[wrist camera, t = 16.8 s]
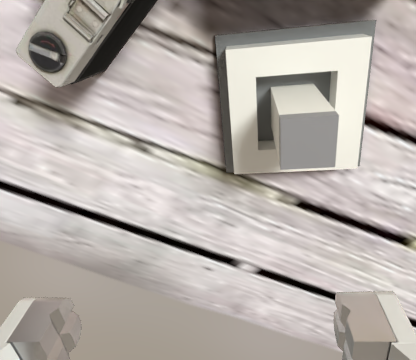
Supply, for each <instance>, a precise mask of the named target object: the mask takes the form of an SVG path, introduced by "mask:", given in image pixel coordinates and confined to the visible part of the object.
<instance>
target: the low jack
mask: <svg viewBox="0 0 416 360" xmlns="http://www.w3.org/2000/svg"><path fill="white" fill-rule="evenodd" d="M375 26H376V20H365V21H355V22H345V23H335V24H324V25H314V26H304V27H293V28H283V29H273V30H262V31H252V32H242V33H232V34H221V35H215V41H216V54H217V66H218V78H219V90H220V103H221V115H222V127H223V139H224V152H225V164H226V173H228V172H234V174H252V173H273V172H295V171H316V170H338V169H357V167H358V166H360V157H361V148H362V139H363V131H364V122H365V113H366V104H367V96H368V87H369V78H370V69H371V61H372V52H373V43H374V34H375ZM301 84H314V85H315V86H316V87H317V89H318V90H319V91H320V92H321V94H322V95H323V96H324V97H325V98H326V100H327V101H328V102H329V103H330V105H331V106H332V107H333V108H334V110H335V111H336V112H337V113H338V115H339V123H338V136H337V149H336V162H335V167H329V168H308V169H288V170H281V169H280V165H279V160H278V155H277V151H276V146H275V142H274V137H273V132H272V128H271V87H276V86H288V85H301Z"/></svg>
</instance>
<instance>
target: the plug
mask: <svg viewBox="0 0 416 360" xmlns="http://www.w3.org/2000/svg"><path fill="white" fill-rule="evenodd" d="M338 123H339V115H338V113H337V112H336V111H335V110H334V108H333V107H332V106H331V105H330V103H329V102H328V101H327V100H326V98H325V97H324V96H323V95H322V94H321V92H320V91H319V90H318V89H317V87H316V86H315V85H314V84H301V85H288V86H276V87H271V128H272V132H273V137H274V142H275V146H276V151H277V155H278V160H279V165H280V169H281V170H288V169H308V168H329V167H335V162H336V149H337V136H338Z"/></svg>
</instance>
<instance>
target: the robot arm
mask: <svg viewBox="0 0 416 360" xmlns="http://www.w3.org/2000/svg"><path fill="white" fill-rule="evenodd" d="M335 304H336V307H337V310H336V311H335V312H334V331H335V336H336V341H337V345H338V347H339V348H340V349H341V350H342V351H343V356H342V360H416V333H415V331H414V329H413V327H412V325H411V323H410V321H409V319H408V317H407V316H406V314H405V312H404V310H403V308H402V306H401V304H400V302H399V300H398V298H397V296H396V294H395V293H394V292H393V291H374V292H372V291H366V292H337V293H336V296H335ZM73 307H74V304H73V302H72V300H71V298H23V299H21V300H20V301H18V303H17V304H16V306H15V307H14V308H13V310H12V311H11V313H10V314H9V316H8V317H7V318H6V320H5V321H4V323H3V324H2V325H1V327H0V360H70V357H69V352H70V351H71V350H72V349H74V347H76V345H77V343H78V341H79V339H80V334H81V320H80V318H79V315H77V314H76V313H75V312H73V311H72V309H73Z"/></svg>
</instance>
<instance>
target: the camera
mask: <svg viewBox="0 0 416 360" xmlns="http://www.w3.org/2000/svg"><path fill="white" fill-rule="evenodd" d="M156 1H157V0H45V1H44V2H43V4H42V6H41V7H40V9H39V11H38V13H37V14H36V16H35V18H34V19H33V21H32V23H31V25H30V26H29V28H28V30H27V31H26V33H25V35H24V37H23V38H22V40H21V42H20V43H19V45H18V47H17V48H16V52H17V54H18V56H19V57H20V58H21V59H22V60H24V61H25V62H26V63H27V64H28V65H29V66H31V67H32V68H33V69H34V70H35V71H37V72H38V73H39V74H40V75H41V76H43V77H44V78H45V79H46V80H47V81H49V82H50V83H51V84H52V85H53V86H54V87H58V88H59V87H62V86H65V85H67V84H73V83H77V82H79V81H82V80H84V79H86V78H89V77H92V76H94V75H96V74H99V73H101V72H103V71H105V70H106V69H107V67H108V66H109V65H110V63H111V62H112V60H113V59H114V58H115V56H116V55H117V54H118V52H119V51H120V50H121V48H122V47H123V46H124V44H125V43H126V42H127V40H128V39H129V38H130V36H131V35H132V34H133V32H134V31H135V29H136V28H137V27H138V25H139V24H140V23H141V21H142V20H143V19H144V17H145V16H146V15H147V13H148V12H149V11H150V9H151V8H152V6H153V5H154V4H155V2H156Z"/></svg>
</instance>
